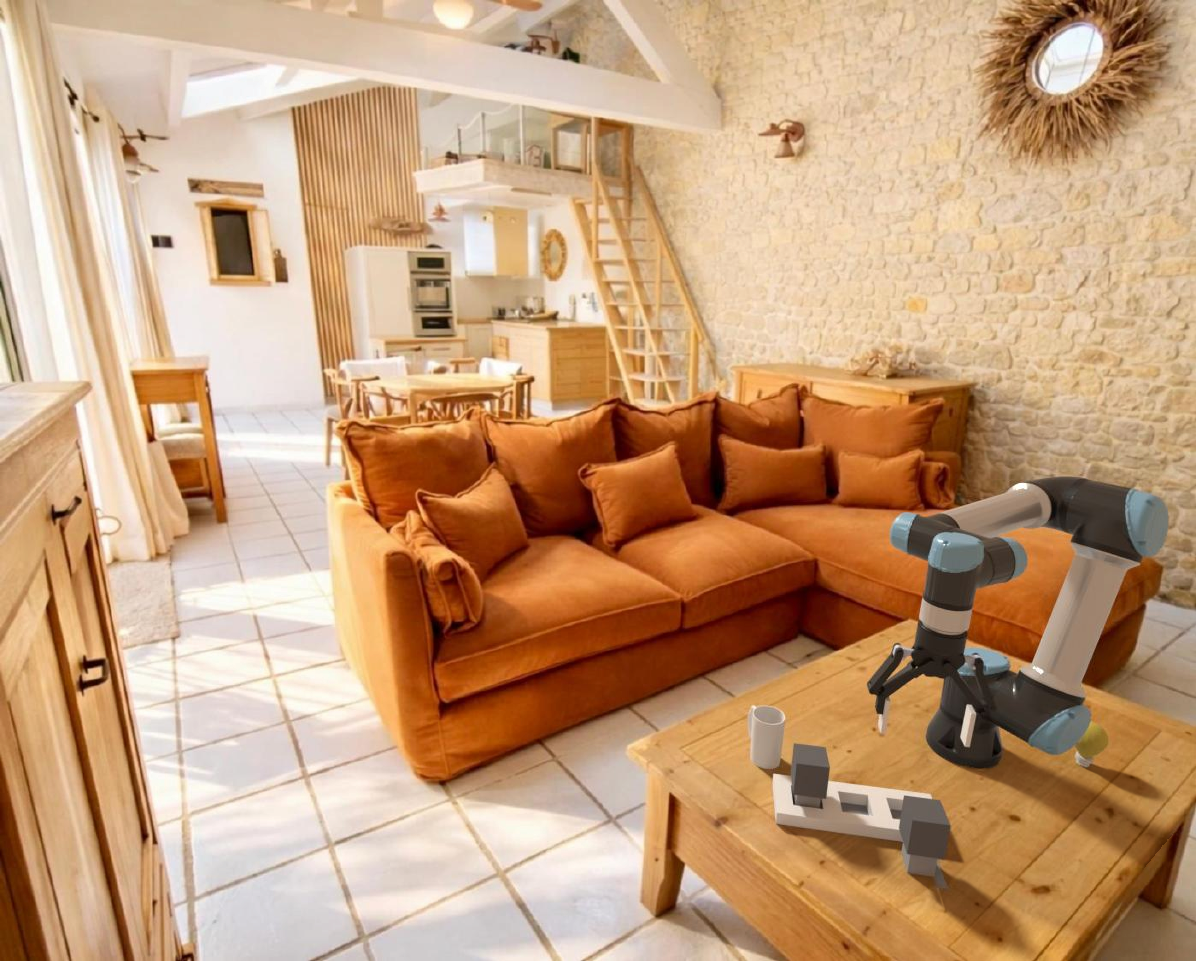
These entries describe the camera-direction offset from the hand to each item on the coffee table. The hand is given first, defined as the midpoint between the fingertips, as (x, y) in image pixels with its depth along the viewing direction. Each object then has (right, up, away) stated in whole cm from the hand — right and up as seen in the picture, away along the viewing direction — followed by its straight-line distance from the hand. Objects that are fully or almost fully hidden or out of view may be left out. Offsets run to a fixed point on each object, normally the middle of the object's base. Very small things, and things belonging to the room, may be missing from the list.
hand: (922, 735), depth 119 cm
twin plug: (-16, -19, +14) cm, 29 cm away
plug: (0, -24, +1) cm, 24 cm away
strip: (-7, -21, +13) cm, 26 cm away
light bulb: (+49, -17, +29) cm, 59 cm away
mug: (-21, -16, +30) cm, 40 cm away
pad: (0, -24, +2) cm, 24 cm away
